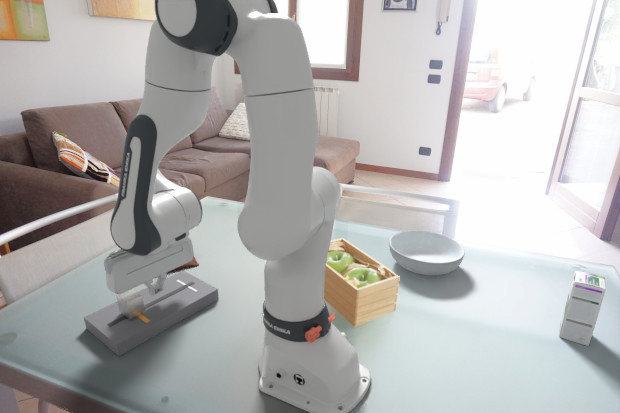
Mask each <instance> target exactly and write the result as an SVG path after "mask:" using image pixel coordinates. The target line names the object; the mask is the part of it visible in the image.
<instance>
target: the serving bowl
mask: <svg viewBox="0 0 620 413" xmlns="http://www.w3.org/2000/svg"><path fill="white" fill-rule="evenodd" d="M388 242H389V243H388V245H389V251H390V254H391V257H392V258H393V259H394V261H395V263H397V265H399V266H401V267H402V268H404V269H405V270H408V271H410V272H412V273H415V274H420V275H425V276H442V275H445V274H448V273H451V272H452V271H455V270H456V269H457V268H458V267H459V266H460V265H461V263H462V262H463V259H464V257H465V248H464V247H463V245H462V244H461V243H459V241H457V240H455V239H453V238H452V237H449V236H447V235H445V234H443V233H439V232H433V231H429V230H422V229H421V230H419V229H415V230H412V229H411V230H404V231H400V232H397V233H395V234H393V235H392V236H391V237H390V238H389V241H388Z"/></svg>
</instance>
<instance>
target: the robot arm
mask: <svg viewBox="0 0 620 413" xmlns="http://www.w3.org/2000/svg"><path fill="white" fill-rule="evenodd" d="M154 12H155V16H156V19H155V20H154V21H153V22H152V25H151V27H150V31H149V36H148V41H147V47H146V54H145V65H144V66H145V67H144V68H145V69H144V90H143V95H142V100H141V103H140V106H139V109H138V110H137V111H138V112H137V113H136V115H135V117H134V118H133V119H132V121H131V122H130V123H129V125H128V127H127V132H126V137H125V141H124V148H123V156H122V160H121V170H120V175H119V182H118V192H117V198H116V203H115V207H114V209H113V212H112V215H111V218H110V224H109V230H110V235H111V238H112V240H113V242H114V243H115V245H116V246H117V247H118V248H119V249H118V250H115V251H111V252H110V253H108V256H106V258H105V259H104V261H103V267H104V270H105V281H106V286H107V289H108V290H109V291H110V292H112V293H114V294H116V295H117V294H118V295H120V294H122V293H124V292H126V291H128V290H131V289H134V288H137V287H139V286H141V285H143V284H144V286H145V287H146V288H147V287H148V291H149V293H150V294H151V295H155V294H157V293H158V292H160V291H163V290H164V285H163V284H164V282H165V280H166V278H168V273H167V272H169V271H171V270H173V269H175V268H177V267H180V266H182V265H184V264H186V263H188V262H190V261H192V259H193V256H194V257H195V253H194V252H195V251H194V246H193V242H192V240H191V238H190V231H191V230H193V229H194V228H195V227H198V226H199V225H200V223H201V222H202V219H203V206H202V205H203V204H202V203H201V200H200V198H199V196H198V195H197V193H196V192H195V191H193V190H192V189H190V188H189V187H186V186H183V185H182V186H181V185H179V184H176V183H175V182H172V181H171V180H170V179H168V178H166V177H165V176H164V175H163V173H162V172H161V171H160V169H159V166H160V164H161V162H162V160H163V158H164V157H166V154H168V152H169V151H170V150H172V149H173V148H174V147H175V146H176V145H177V144H179V143H180V142H181V141H183V140H184V139H185V138H187V137H188V136H190V135H191V134H193V133H195V132H196V131H197V130H198V129H199V128H200V127H201V126H202V125H203V124H204V122H205V121H206V118H207V115H208V112H209V109H210V102H211V89H212V70H213V64H214V62H215V60H216V58H217V57H221V56H222V55H223V54H226V55H228V56H229V57H231V59H233V60H234V62H235V63H236V64H237V67H238V70H239V74H240V78H241V79H240V80H241V85H242V91H243V92H242V93H243V98H244V107H245V111H246V119H247V125H248V126H247V127H248V134H249V140H250V142H249V143H250V144H249V145H250V163H249V172H248V174H249V175H248V183H247V185H248V186H247V191H246V196H245V200H244V204H243V207H242V209H241V211H240V213H239V215H238V219H237V234H238V236H239V237H238V238H239V239H240V241H241V243H242V244H243V246H244V247H245V248H246V250H247V251H248V252H249V253H251V255H253V256H255V257H256V258H258V259H261V260H265V264H264V270H263V273H264V274H263V275H264V276H263V277H264V279H263V280H264V282H263V283H264V301H263V303H262V323H263V325H264V334H263V335H264V337H263V344H262V348H261V349H262V350H261V354H260V356H259V359H258V370H259V374H260V378H259V383H258V384H259V386H258V388H259V390H260V392H262V393H264V394H266V395H268V396H271V397H272V398H275V399H278V400H281V401H282V402H285V403H287V404H289V405H291V406H294V407H296V408H298V409H300V410H302V411H305V412H307V413H350V412H351V411H353V409H355V408H356V407H357V406H358V405H359V403H360V402H362V400H363V398H365V396H366V394H367V392H368V390H369V388H370V385H371V379H372V378H371V371H370V369H368V368H367V367H366V366H365V365H363V364H361V363H360V360H359V359H360V358H359V355H358V352H357V350H356V348H355V347H354V346H353V345H352V344H351V342H349V339H348V335H347V333H345V332H341V331H340V330H339V329H338V328H337V327H336V326H335V325H334V324H333V321H335V319H336V318H337V316H335V315H336V314H337V313H336V312H333V313H332V314H331V315H330V313H329V309H328V306H327V303H326V301H325V281H326V280H325V279H326V277H325V276H326V265H327V259H328V254H329V251H330V245H331V240H332V235H333V230H334V226H335V225H334V224H335V217H336V212H337V209H338V205H339V202H340V198H341V187H340V186H341V185H340V183H339V181H338V179H337V177H336V176H335V175H334V174H333V173H332V172H331V171H330V170H328V169H327V168H324V167H321V166H314V163H315V162H314V161H315V156H316V151H317V147H318V144H319V142H320V141H319V139H320V134H319V133H320V131H319V122H318V113H317V102H316V94H315V86H314V85H315V84H314V77H313V71H312V66H311V61H310V60H311V59H310V56H309V52H308V48H307V45H306V41H305V37H304V34H303V31H302V28H301V26H300V24H299V23H298V22H297V21H296V20H295V19H294V18H292V17H290V16H287V15H285V14H282V13H279V10H278V7H277V5H276V3H275V0H154ZM156 278H157V279H156ZM154 279H156V282H155V283H153V280H154Z"/></svg>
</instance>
